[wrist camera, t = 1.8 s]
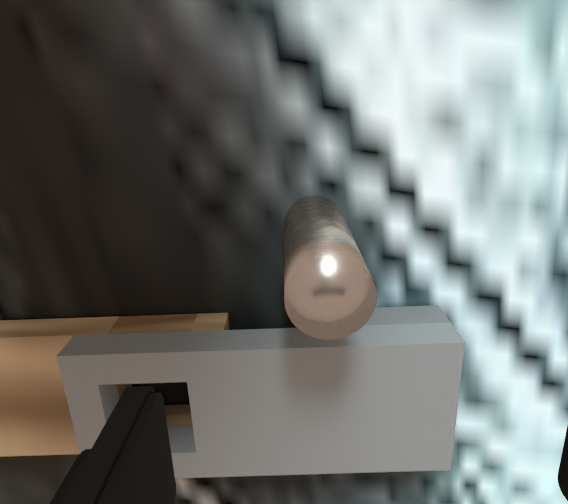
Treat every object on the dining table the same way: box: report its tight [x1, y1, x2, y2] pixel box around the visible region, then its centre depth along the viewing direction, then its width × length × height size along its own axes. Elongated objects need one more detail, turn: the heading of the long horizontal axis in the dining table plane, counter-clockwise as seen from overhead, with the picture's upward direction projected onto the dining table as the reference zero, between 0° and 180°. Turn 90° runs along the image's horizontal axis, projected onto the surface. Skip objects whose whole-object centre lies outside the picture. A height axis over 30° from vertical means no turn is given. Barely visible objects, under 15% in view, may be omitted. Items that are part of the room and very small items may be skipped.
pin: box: [284, 196, 377, 340], centre depth 20 cm, size 3×3×9 cm
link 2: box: [56, 305, 465, 478], centre depth 25 cm, size 8×20×4 cm, turn 92°
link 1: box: [0, 313, 230, 457], centre depth 26 cm, size 8×20×2 cm, turn 92°
